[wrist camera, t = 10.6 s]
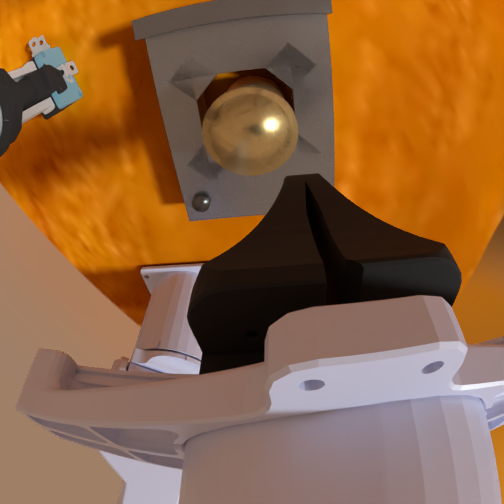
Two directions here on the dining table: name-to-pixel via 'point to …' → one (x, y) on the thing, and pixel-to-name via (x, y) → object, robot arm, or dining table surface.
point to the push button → (35, 90)
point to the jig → (237, 59)
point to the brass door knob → (250, 127)
